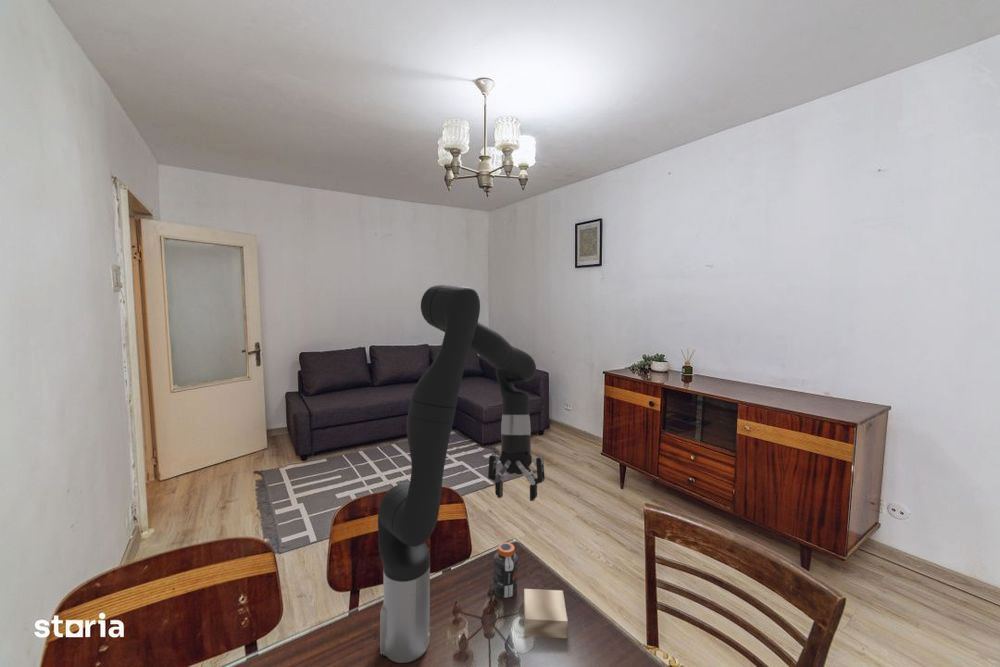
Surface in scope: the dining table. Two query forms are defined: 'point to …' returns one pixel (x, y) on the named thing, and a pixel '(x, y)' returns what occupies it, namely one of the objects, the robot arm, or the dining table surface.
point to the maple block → (545, 613)
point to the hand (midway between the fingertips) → (516, 498)
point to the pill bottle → (505, 571)
